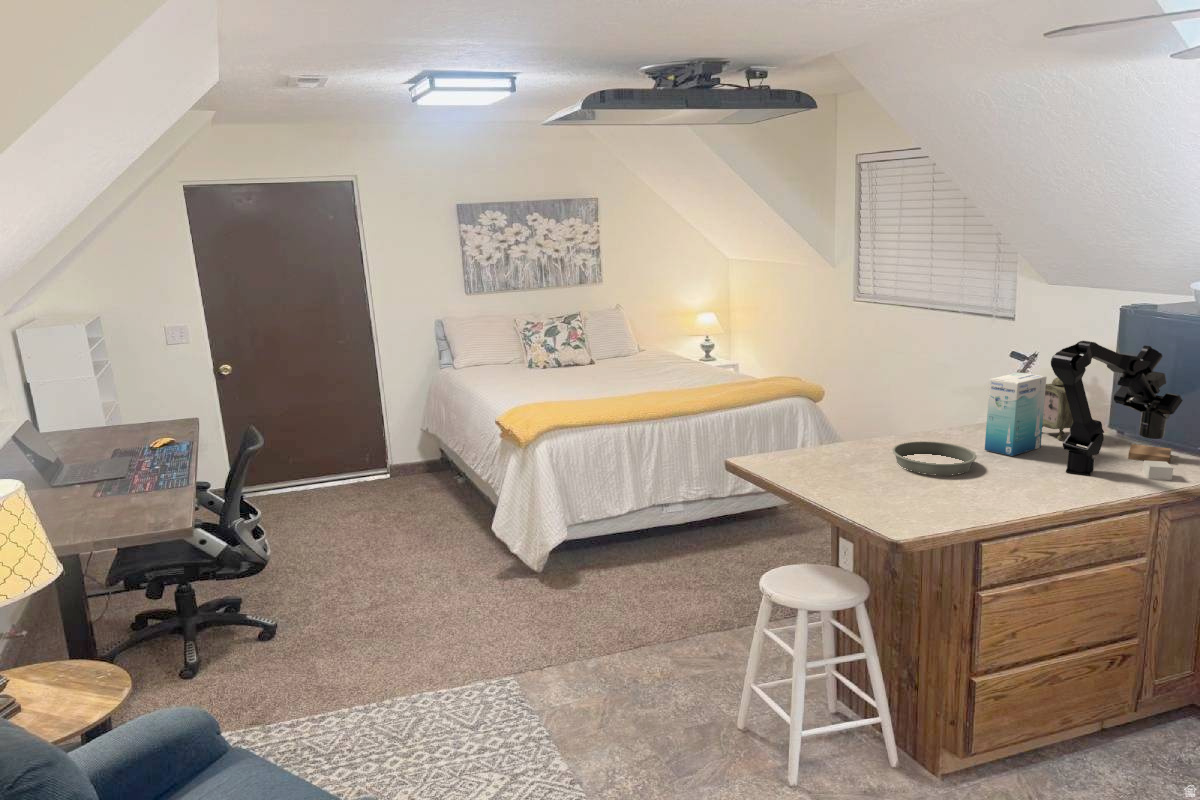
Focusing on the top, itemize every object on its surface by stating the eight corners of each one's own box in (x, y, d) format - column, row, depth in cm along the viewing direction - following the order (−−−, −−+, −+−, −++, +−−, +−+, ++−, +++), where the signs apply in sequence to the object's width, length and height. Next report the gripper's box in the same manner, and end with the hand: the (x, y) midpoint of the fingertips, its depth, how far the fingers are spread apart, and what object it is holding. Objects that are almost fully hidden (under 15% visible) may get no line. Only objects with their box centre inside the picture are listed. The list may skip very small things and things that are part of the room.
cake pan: (891, 474, 270) (892, 460, 269) (891, 452, 293) (891, 439, 292) (979, 480, 263) (980, 466, 262) (971, 457, 286) (972, 443, 285)
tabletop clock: (1030, 431, 313) (1037, 361, 307) (1053, 429, 315) (1060, 359, 309) (1058, 442, 299) (1065, 369, 293) (1082, 440, 301) (1090, 367, 295)
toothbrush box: (1012, 441, 302) (1018, 370, 296) (1042, 447, 294) (1048, 375, 288) (982, 450, 292) (988, 378, 286) (1012, 457, 284) (1019, 383, 278)
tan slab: (1128, 458, 280) (1128, 452, 279) (1130, 450, 289) (1131, 444, 288) (1169, 463, 274) (1170, 457, 273) (1170, 454, 283) (1171, 448, 282)
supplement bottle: (1135, 436, 280) (1140, 399, 277) (1142, 432, 284) (1147, 395, 282) (1160, 440, 275) (1165, 402, 272) (1167, 436, 280) (1172, 399, 277)
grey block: (1148, 479, 261) (1149, 466, 260) (1142, 473, 266) (1143, 460, 265) (1171, 480, 259) (1173, 467, 258) (1164, 474, 265) (1166, 461, 264)
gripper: (1182, 369, 265) (1201, 401, 272) (1123, 359, 281) (1142, 390, 288) (1162, 398, 263) (1181, 429, 270) (1103, 386, 280) (1123, 416, 287)
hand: (1156, 415), depth 279 cm, fingers closed on supplement bottle, 7 cm apart
